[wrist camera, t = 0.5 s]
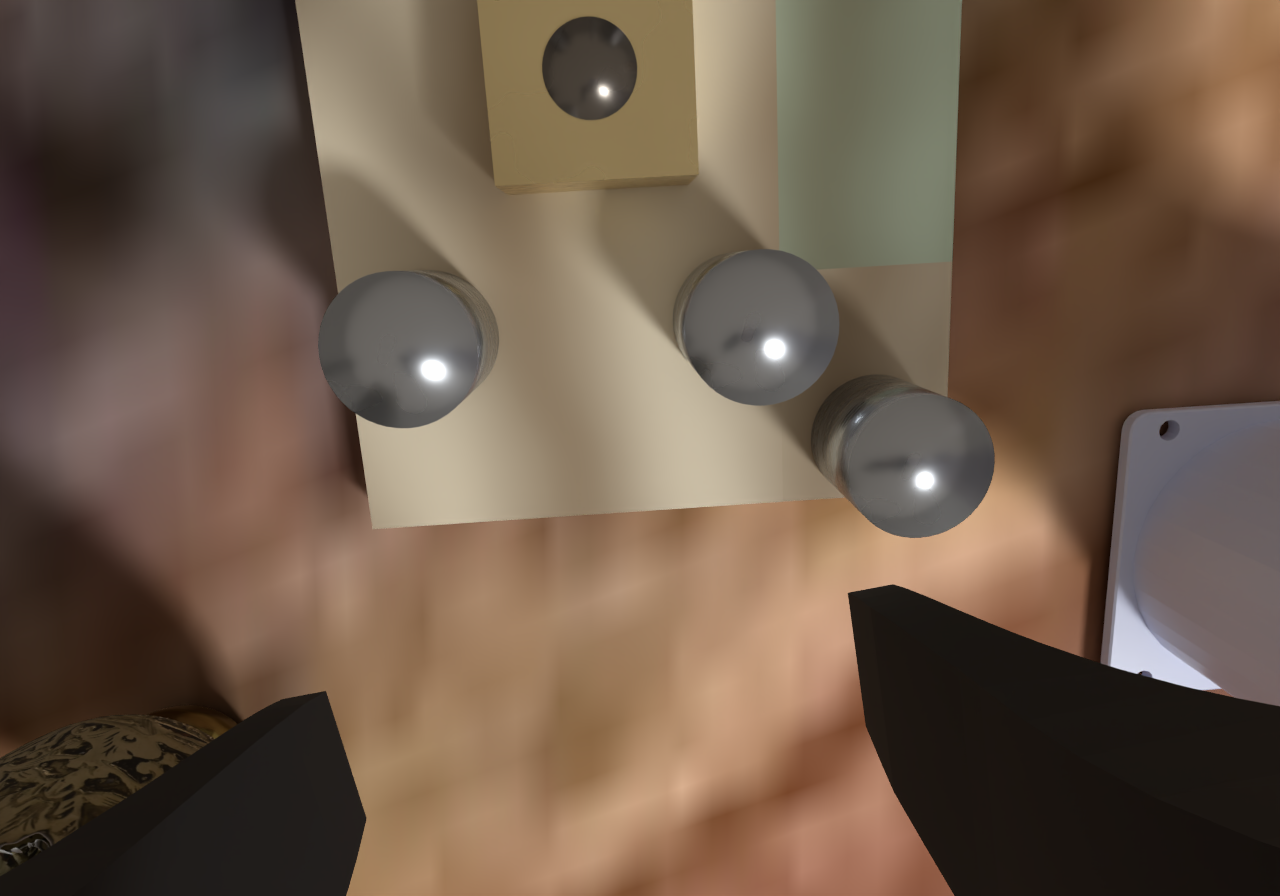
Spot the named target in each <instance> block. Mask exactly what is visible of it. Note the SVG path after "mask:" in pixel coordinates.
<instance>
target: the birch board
mask: <svg viewBox="0 0 1280 896" xmlns="http://www.w3.org/2000/svg"><path fill="white" fill-rule="evenodd" d="M692 2H693V29H694V56H695V82H696V109H697V136H698V162H699V175H698V176H697V177H696V178H695V179H694V180H693V181H692V182H691V183H690V184H689V185H678V186H660V187H642V188H625V189H607V190H590V191H572V192H554V193H537V194H519V195H507V194H506V193H504V192H503V191H501V190H500V189H499V188H497V187H496V186H495V182H494V171H493V161H492V151H491V140H490V130H489V120H488V109H487V99H486V88H485V78H484V68H483V57H482V47H481V37H480V26H479V16H478V6H477V0H295V3H296V9H297V16H298V23H299V30H300V37H301V43H302V50H303V57H304V64H305V71H306V78H307V84H308V91H309V98H310V105H311V112H312V119H313V125H314V132H315V139H316V146H317V153H318V159H319V166H320V173H321V180H322V187H323V194H324V200H325V207H326V214H327V221H328V228H329V235H330V241H331V248H332V255H333V262H334V269H335V275H336V282H337V289H338V294H339V293H340V291H342V290H343V289H344V288H345V287H346V286H348V285H349V284H351V283H352V282H354V281H356V280H357V279H359V278H362V277H364V276H366V275H370V274H374V273H377V272H385V271H413V270H436V271H443V272H447V273H450V274H453V275H455V276H458V277H460V278H462V279H464V280H465V281H467V282H468V283H470V284H471V285H472V286H474V287H475V288H476V289H477V290H478V291H479V292H480V293H481V294H482V295H483V297H484V298H485V299H486V300H487V302H488V303H489V305H490V307H491V309H492V311H493V313H494V315H495V318H496V321H497V325H498V331H499V349H498V354H497V359H496V361H495V364H494V366H493V368H492V370H491V372H490V374H489V375H488V376H487V378H486V379H485V380H484V381H483V382H482V383H481V384H480V386H479V387H477V388H476V389H475V390H474V391H473V392H472V393H471V394H470V395H469V396H468V397H467V398H466V399H464V400H463V401H462V402H461V403H460V404H459V405H458V406H457V407H456V408H455V409H454V410H452V411H451V412H450V413H449V414H447V415H446V416H444V417H443V418H441V419H439V420H438V421H435V422H433V423H430V424H428V425H424V426H420V427H415V428H392V427H386V426H382V425H378V424H376V423H373V422H370V421H368V420H366V419H364V418H362V417H361V416H359V415H357V414H356V419H357V426H358V432H359V439H360V446H361V453H362V460H363V467H364V473H365V480H366V487H367V494H368V501H369V508H370V514H371V521H372V528H373V529H382V528H397V527H412V526H427V525H441V524H456V523H471V522H486V521H501V520H516V519H531V518H546V517H561V516H575V515H590V514H605V513H620V512H635V511H650V510H665V509H680V508H695V507H709V506H724V505H739V504H754V503H769V502H784V501H799V500H814V499H829V498H843V497H844V496H843V495H842V494H841V493H840V492H839V491H838V490H837V489H836V488H835V487H834V486H833V485H832V484H831V483H830V482H829V481H828V480H827V479H826V478H825V477H824V476H823V474H822V473H821V471H820V470H819V468H818V466H817V464H816V462H815V460H814V457H813V453H812V448H811V432H812V427H813V423H814V420H815V417H816V414H817V412H818V410H819V408H820V407H821V405H822V404H823V402H824V401H825V400H826V399H827V397H828V396H829V395H830V394H831V393H832V392H833V391H834V390H836V389H837V388H838V387H840V386H841V385H843V384H844V383H846V382H848V381H850V380H853V379H855V378H858V377H862V376H866V375H873V374H878V375H889V376H893V377H896V378H899V379H902V380H904V381H907V382H909V383H912V384H915V385H917V386H920V387H922V388H925V389H927V390H930V391H933V392H935V393H938V394H940V395H943V396H945V397H947V395H948V368H949V340H950V313H951V286H952V258H953V231H954V203H955V176H956V149H957V121H958V94H959V67H960V39H961V12H962V0H692ZM758 249H773V250H780V251H784V252H787V253H791V254H793V255H795V256H798V257H800V258H802V259H803V260H805V261H806V262H808V263H809V264H811V265H812V266H813V267H814V268H815V269H816V270H817V271H818V272H819V273H820V274H821V275H822V276H823V277H824V279H825V280H826V282H827V283H828V285H829V286H830V288H831V290H832V292H833V294H834V297H835V300H836V303H837V308H838V313H839V336H838V341H837V345H836V349H835V352H834V355H833V357H832V359H831V361H830V363H829V365H828V366H827V368H826V369H825V371H824V372H823V374H822V375H821V376H820V377H819V379H818V380H817V381H816V382H815V383H814V384H813V385H811V386H810V387H809V388H808V389H807V390H805V391H804V392H802V393H801V394H799V395H797V396H795V397H794V398H792V399H789V400H787V401H784V402H781V403H777V404H772V405H764V406H754V405H746V404H742V403H738V402H735V401H732V400H730V399H727V398H725V397H724V396H722V395H720V394H718V393H717V392H716V391H714V390H713V389H712V388H711V387H709V386H708V385H707V384H706V382H705V381H704V380H703V379H702V378H701V377H700V376H699V374H698V373H697V372H696V371H695V370H694V368H693V367H692V366H691V365H690V363H689V362H688V361H687V360H686V358H685V357H684V356H683V354H682V352H681V351H680V349H679V347H678V344H677V342H676V339H675V335H674V330H673V309H674V304H675V300H676V297H677V295H678V292H679V290H680V288H681V286H682V285H683V283H684V281H685V280H686V279H687V277H688V276H689V275H690V274H691V273H692V272H693V271H694V270H695V269H696V268H697V267H698V266H700V265H701V264H702V263H704V262H705V261H707V260H709V259H711V258H713V257H715V256H718V255H721V254H725V253H731V252H739V251H749V250H758Z"/></svg>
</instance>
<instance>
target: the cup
mask: <svg viewBox="0 0 1280 896" xmlns="http://www.w3.org/2000/svg"><path fill="white" fill-rule="evenodd" d="M236 725H237V723H236V722H235V721H234V720H233V719H231V718H230V717H228V716H227V715H225V714H223V713H221V712H219V711H217V710H214V709H211V708H207V707H203V706H197V705H179V706H172V707H168V708H164V709H161V710H158V711H155V712H152V713H149V714H147V715H139V714H138V715H113V716H105V717H99V718H95V719H90V720H86V721H82V722H78V723H75V724H71V725H68V726H66V727H63V728H60V729H58V730H55V731H53V732H51V733H48V734H46V735H44V736H41V737H39V738H37V739H35V740H33V741H31V742H29V743H27V744H25V745H23V746H21V747H19V748H18V749H16V750H14V751H12V752H10V753H8V754H6V755H5V756H3V757H1V758H0V876H1V875H3V874H5V873H7V872H8V871H10V870H12V869H13V868H15V867H17V866H19V865H20V864H22V863H24V862H25V861H27V860H29V859H30V858H32V857H34V856H35V855H37V854H39V853H40V852H42V851H44V850H45V849H47V848H49V847H50V846H52V845H53V844H55V843H57V842H58V841H60V840H61V839H63V838H64V837H66V836H68V835H69V834H71V833H72V832H74V831H75V830H77V829H79V828H80V827H82V826H83V825H85V824H86V823H88V822H89V821H91V820H93V819H94V818H96V817H97V816H99V815H100V814H102V813H104V812H105V811H107V810H108V809H110V808H111V807H113V806H115V805H116V804H118V803H119V802H121V801H122V800H124V799H126V798H127V797H129V796H130V795H132V794H133V793H135V792H136V791H138V790H139V789H141V788H142V787H144V786H145V785H147V784H148V783H150V782H151V781H153V780H154V779H156V778H157V777H159V776H160V775H162V774H163V773H165V772H166V771H168V770H169V769H171V768H172V767H174V766H175V765H177V764H178V763H180V762H181V761H183V760H184V759H186V758H187V757H189V756H190V755H192V754H193V753H195V752H196V751H198V750H199V749H201V748H202V747H204V746H205V745H207V744H208V743H210V742H211V741H213V740H214V739H216V738H217V737H219V736H220V735H222V734H223V733H225V732H226V731H228V730H230V729H231V728H233V727H234V726H236Z"/></svg>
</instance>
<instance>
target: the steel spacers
mask: <svg viewBox="0 0 1280 896" xmlns="http://www.w3.org/2000/svg"><path fill="white" fill-rule="evenodd" d="M673 330H674V335H675V339H676V342H677V344H678V347H679V349H680V351H681V352H682V354H683V356H684V357H685V358H686V360H687V361H688V362H689V363H690V365H691V366H692V367H693V368H694V370H695V371H696V372H697V373H698V374H699V376H700V377H701V378H702V379H703V380H704V381H705V382H706V384H707V385H708V386H709V387H711V388H712V389H713V390H714V391H716V392H717V393H718V394H720V395H722V396H724V397H725V398H727V399H730V400H732V401H735V402H738V403H742V404H746V405H754V406H764V405H772V404H777V403H781V402H784V401H787V400H789V399H792V398H794V397H795V396H797V395H799V394H801V393H802V392H804V391H805V390H807V389H808V388H809V387H810V386H811V385H813V384H814V383H815V382H816V381H817V380H818V379H819V377H820V376H821V375H822V374H823V372H824V371H825V369H826V368H827V366H828V365H829V363H830V361H831V359H832V357H833V355H834V352H835V349H836V345H837V341H838V336H839V313H838V308H837V303H836V300H835V297H834V294H833V292H832V290H831V288H830V286H829V285H828V283H827V282H826V280H825V279H824V277H823V276H822V275H821V274H820V273H819V272H818V271H817V270H816V269H815V268H814V267H813V266H812V265H811V264H809V263H808V262H806V261H805V260H803V259H802V258H800V257H798V256H795V255H793V254H791V253H787V252H784V251H780V250H773V249H758V250H749V251H739V252H731V253H725V254H721V255H718V256H715V257H713V258H711V259H709V260H707V261H705V262H704V263H702V264H701V265H700V266H698V267H697V268H696V269H695V270H694V271H693V272H692V273H691V274H690V275H689V276H688V277H687V279H686V280H685V281H684V283H683V285H682V286H681V288H680V290H679V292H678V295H677V297H676V300H675V304H674V309H673ZM318 349H319V358H320V362H321V367H322V370H323V372H324V375H325V377H326V379H327V381H328V383H329V385H330V387H331V388H332V390H333V391H334V393H335V394H336V396H337V397H338V398H339V399H340V400H341V401H342V402H343V403H344V404H345V405H346V406H347V407H348V408H349V409H350V410H352V411H353V412H354V413H356V414H357V415H359V416H361V417H362V418H364V419H366V420H368V421H370V422H373V423H376V424H378V425H382V426H386V427H392V428H415V427H420V426H424V425H428V424H430V423H433V422H435V421H438V420H439V419H441V418H443V417H444V416H446V415H447V414H449V413H450V412H451V411H452V410H454V409H455V408H456V407H457V406H458V405H459V404H460V403H461V402H462V401H463V400H464V399H466V398H467V397H468V396H469V395H470V394H471V393H472V392H473V391H474V390H475V389H476V388H477V387H479V386H480V384H481V383H482V382H483V381H484V380H485V379H486V378H487V376H488V375H489V374H490V372H491V370H492V368H493V366H494V364H495V361H496V359H497V354H498V349H499V331H498V325H497V321H496V318H495V315H494V313H493V311H492V309H491V307H490V305H489V303H488V302H487V300H486V299H485V298H484V297H483V295H482V294H481V293H480V292H479V291H478V290H477V289H476V288H475V287H474V286H472V285H471V284H470V283H468V282H467V281H465V280H464V279H462V278H460V277H458V276H455V275H453V274H450V273H447V272H443V271H436V270H413V271H385V272H377V273H374V274H370V275H366V276H364V277H362V278H359V279H357V280H356V281H354V282H352V283H351V284H349V285H348V286H346V287H345V288H344V289H343V290H342V291H340V293H339V294H338V295H337V296H336V297H335V298H334V299H333V301H332V302H331V304H330V305H329V307H328V308H327V311H326V313H325V315H324V317H323V320H322V323H321V326H320V332H319V341H318ZM811 448H812V453H813V457H814V460H815V462H816V464H817V466H818V468H819V470H820V471H821V473H822V474H823V476H824V477H825V478H826V479H827V480H828V481H829V482H830V483H831V484H832V485H833V486H834V487H835V488H836V489H837V490H838V491H839V492H840V493H841V494H842V495H843V496H844V497H845V498H847V499H848V500H849V501H850V502H851V503H852V504H853V505H854V506H855V507H856V508H857V509H858V510H859V511H860V512H861V513H862V514H863V515H864V516H865V517H866V518H867V519H868V520H869V521H870V522H871V523H873V524H874V525H875V526H876V527H878V528H880V529H882V530H883V531H886V532H888V533H890V534H893V535H897V536H901V537H909V538H921V537H929V536H933V535H937V534H940V533H942V532H945V531H947V530H949V529H951V528H953V527H955V526H957V525H958V524H959V523H961V522H962V521H964V520H965V519H966V518H967V517H968V516H969V515H971V514H972V512H973V511H974V510H975V509H976V508H977V507H978V505H979V504H980V503H981V501H982V500H983V498H984V496H985V494H986V493H987V491H988V488H989V486H990V483H991V480H992V476H993V472H994V448H993V443H992V440H991V437H990V434H989V432H988V430H987V428H986V426H985V425H984V423H983V422H982V420H981V419H980V418H979V417H978V416H977V415H976V414H975V413H974V412H973V411H972V410H971V409H969V408H968V407H967V406H965V405H963V404H962V403H960V402H958V401H955V400H953V399H951V398H948V397H945V396H943V395H940V394H938V393H935V392H933V391H930V390H927V389H925V388H922V387H920V386H917V385H915V384H912V383H909V382H907V381H904V380H902V379H899V378H896V377H893V376H889V375H878V374H873V375H866V376H862V377H858V378H855V379H853V380H850V381H848V382H846V383H844V384H843V385H841V386H840V387H838V388H837V389H836V390H834V391H833V392H832V393H831V394H830V395H829V396H828V397H827V399H826V400H825V401H824V402H823V404H822V405H821V407H820V408H819V410H818V412H817V414H816V417H815V420H814V423H813V427H812V432H811Z"/></svg>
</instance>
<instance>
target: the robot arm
mask: <svg viewBox="0 0 1280 896" xmlns="http://www.w3.org/2000/svg"><path fill="white" fill-rule="evenodd" d="M1166 421H1168V425H1169V427H1168V430H1167V432H1166V433H1165V434H1164V435H1163V436H1160V434H1159V430H1160V427H1161V425H1162V424H1163V423H1164V422H1166ZM848 597H849V604H850V612H851V619H852V627H853V634H854V642H855V649H856V656H857V664H858V671H859V679H860V686H861V693H862V701H863V708H864V716H865V723H866V727H867V730H868V732H869V735H870V737H871V739H872V742H873V744H874V747H875V749H876V751H877V754H878V756H879V759H880V761H881V763H882V766H883V768H884V770H885V772H886V775H887V777H888V779H889V782H890V784H891V786H892V788H893V791H894V793H895V794H896V796H897V798H898V800H899V801H900V803H901V805H902V807H903V808H904V810H905V812H906V814H907V815H908V817H909V819H910V821H911V822H912V824H913V826H914V827H915V829H916V831H917V833H918V834H919V836H920V838H921V839H922V841H923V843H924V845H925V846H926V848H927V850H928V851H929V853H930V855H931V856H932V858H933V860H934V862H935V863H936V865H937V867H938V868H939V870H940V872H941V873H942V875H943V877H944V879H945V880H946V882H947V884H948V885H949V887H950V889H951V890H952V892H953V894H954V895H955V896H1280V401H1269V402H1254V403H1239V404H1223V405H1208V406H1192V407H1177V408H1162V409H1146V410H1140V411H1136V412H1134V413H1133V414H1131V415H1130V416H1128V418H1127V419H1126V420H1125V422H1124V424H1123V427H1122V432H1121V443H1120V454H1119V465H1118V476H1117V487H1116V498H1115V509H1114V520H1113V531H1112V542H1111V553H1110V564H1109V575H1108V586H1107V597H1106V608H1105V619H1104V630H1103V641H1102V652H1101V663H1098V662H1095V661H1092V660H1088V659H1086V658H1083V657H1080V656H1077V655H1074V654H1071V653H1068V652H1065V651H1062V650H1059V649H1057V648H1054V647H1051V646H1048V645H1045V644H1042V643H1039V642H1037V641H1034V640H1031V639H1029V638H1026V637H1023V636H1021V635H1018V634H1016V633H1013V632H1010V631H1008V630H1005V629H1003V628H1000V627H998V626H995V625H993V624H990V623H988V622H986V621H983V620H981V619H978V618H976V617H974V616H971V615H969V614H966V613H964V612H962V611H959V610H957V609H955V608H952V607H950V606H947V605H945V604H943V603H940V602H938V601H936V600H933V599H931V598H929V597H926V596H924V595H921V594H919V593H916V592H914V591H911V590H909V589H906V588H903V587H900V586H896V585H887V586H882V587H877V588H871V589H866V590H861V591H855V592H850V593H848ZM1141 671H1143V672H1142V675H1140V674H1138V673H1139V672H1141ZM1211 689H1223V690H1225V691H1226V692H1228V693H1229V694H1230V695H1232V696H1233V697H1229V696H1224V695H1220V694H1215V693H1211V692H1207V691H1202V690H1211ZM1234 697H1235V698H1234ZM365 823H366V815H365V812H364V809H363V806H362V803H361V800H360V797H359V794H358V790H357V787H356V784H355V781H354V778H353V775H352V772H351V768H350V765H349V762H348V759H347V756H346V753H345V750H344V746H343V743H342V740H341V737H340V734H339V731H338V728H337V725H336V721H335V718H334V715H333V712H332V709H331V706H330V703H329V699H328V696H327V693H326V691H324V692H318V693H313V694H308V695H303V696H297V697H292V698H287V699H282V700H280V701H278V702H276V703H274V704H272V705H270V706H268V707H266V708H264V709H262V710H260V711H259V712H257V713H255V714H254V715H252V716H250V717H249V718H247V719H245V720H244V721H242V722H241V723H239V724H237V725H236V726H234V727H233V728H231V729H230V730H228V731H226V732H225V733H223V734H222V735H220V736H219V737H217V738H216V739H214V740H213V741H211V742H210V743H208V744H207V745H205V746H204V747H202V748H201V749H199V750H198V751H196V752H195V753H193V754H192V755H190V756H189V757H187V758H186V759H184V760H183V761H181V762H180V763H178V764H177V765H175V766H174V767H172V768H171V769H169V770H168V771H166V772H165V773H163V774H162V775H160V776H159V777H157V778H156V779H154V780H153V781H151V782H150V783H148V784H147V785H145V786H144V787H142V788H141V789H139V790H138V791H136V792H135V793H133V794H132V795H130V796H129V797H127V798H126V799H124V800H122V801H121V802H119V803H118V804H116V805H115V806H113V807H111V808H110V809H108V810H107V811H105V812H104V813H102V814H100V815H99V816H97V817H96V818H94V819H93V820H91V821H89V822H88V823H86V824H85V825H83V826H82V827H80V828H79V829H77V830H75V831H74V832H72V833H71V834H69V835H68V836H66V837H64V838H63V839H61V840H60V841H58V842H57V843H55V844H53V845H52V846H50V847H49V848H47V849H45V850H44V851H42V852H40V853H39V854H37V855H35V856H34V857H32V858H30V859H29V860H27V861H25V862H24V863H22V864H20V865H19V866H17V867H15V868H13V869H12V870H10V871H8V872H7V873H5V874H3V875H1V876H0V896H346V894H347V891H348V888H349V884H350V881H351V877H352V874H353V870H354V867H355V863H356V860H357V856H358V851H359V847H360V843H361V839H362V835H363V831H364V827H365Z"/></svg>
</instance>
